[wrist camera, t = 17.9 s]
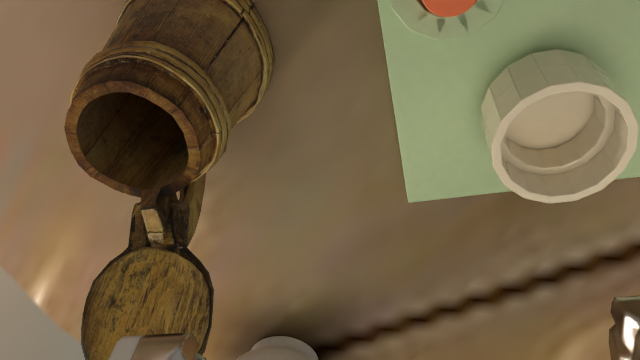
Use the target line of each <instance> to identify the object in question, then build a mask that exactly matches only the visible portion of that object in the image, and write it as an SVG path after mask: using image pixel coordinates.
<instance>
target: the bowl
mask: <svg viewBox="0 0 640 360" xmlns="http://www.w3.org/2000/svg"><path fill="white" fill-rule="evenodd" d="M481 119H482V129H483V133H484V136H485V140H486V143H487V147H488V151H489V154H490V158H491V161H492V165H493V168H494V169H495V171H496V172H497V174H498V176H499V177H500V179H501V181H502V182H503V184H504V185H505V186H506V187H508V188H509V189H511V190H512V191H514V192H515V193H517V194H518V195H520V196H521V197H523V198H525V199H530V200H535V201H540V202H544V203H558V202H567V201H575V200H579V199H581V198H583V197H586V196H588V195H591V194H593V193H595V192H598V191H600V190H602V189H603V188H605V187H606V186H607V185H608V184H609V183H611V182H612V181H613V180H614V179H615V178H617V177H618V176H619V175H620V174H621V173H622V172H623V171H624V170H625V168H626V166H627V165H628V163H629V161H630V159H631V158H632V156H633V154H634V153H635V151H636V148H637V137H638V127H639V126H638V122H637V120H636V118H635V115H634V113H633V111H632V109H631V106H630V104H629V103H628V101H627V100H626V99H625V97H624V96H623V95H622V93H621V92H620V91H619V90H618V88H617V87H616V86H615V84H614V83H613V82H612V81H611V79H610V78H609V77H608V75H607V74H606V73H605V71H604V70H603V69H602V68H601V67H600V66H598V65H597V64H596V63H594V62H593V61H592V60H590V59H589V58H588V57H587V56H584V55H583V54H578V53H574V52H569V51H565V50H559V49H556V50H549V51H543V52H536V53H532V54H529V55H527V56H526V57H524V58H522V59H520V60H518V61H516V62H514V63H512V64H510V65H509V66H508V67H506V68H505V69H504V70H503V71H502V72H501V74H500V75H499V76H498V77H497V78H496V79H495V80H494V81H493V82H492V83H491V84H490V86H489V88H488V90H487V93H486V96H485V98H484V101H483V103H482V106H481Z"/></svg>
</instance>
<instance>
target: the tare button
mask: <svg viewBox="0 0 640 360" xmlns="http://www.w3.org/2000/svg"><path fill="white" fill-rule="evenodd" d="M476 1H477V0H422V2H423V4H424V5H425V6H426V8H427V9H428V10H430V11H431V12H432V13H434V14H436V15H439V16H443V17H453V16H458V15H460V14H462V13H464V12H466V11H467V10H469V9H470V8H471V7H472V6H473V5H474V4H475V3H476Z"/></svg>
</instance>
